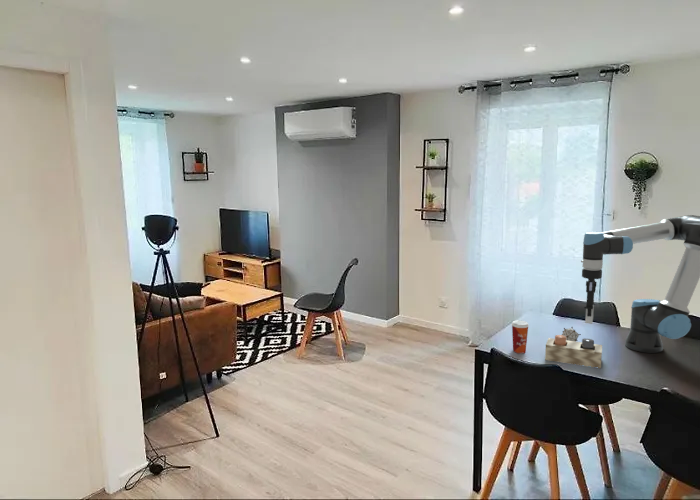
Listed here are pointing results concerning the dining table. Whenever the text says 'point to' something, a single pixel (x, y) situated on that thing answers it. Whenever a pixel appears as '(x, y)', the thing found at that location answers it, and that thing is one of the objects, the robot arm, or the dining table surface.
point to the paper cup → (519, 336)
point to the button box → (573, 353)
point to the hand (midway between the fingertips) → (589, 321)
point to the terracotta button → (560, 340)
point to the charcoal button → (588, 344)
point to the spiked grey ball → (570, 334)
